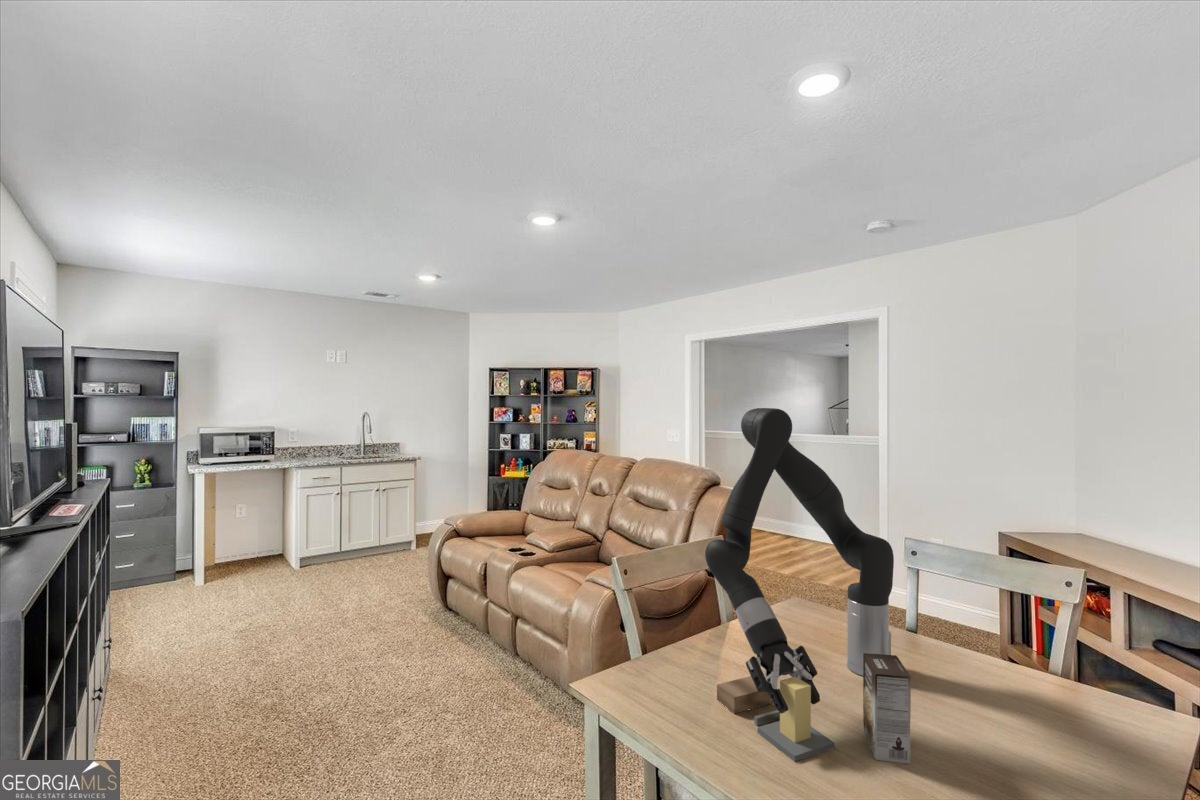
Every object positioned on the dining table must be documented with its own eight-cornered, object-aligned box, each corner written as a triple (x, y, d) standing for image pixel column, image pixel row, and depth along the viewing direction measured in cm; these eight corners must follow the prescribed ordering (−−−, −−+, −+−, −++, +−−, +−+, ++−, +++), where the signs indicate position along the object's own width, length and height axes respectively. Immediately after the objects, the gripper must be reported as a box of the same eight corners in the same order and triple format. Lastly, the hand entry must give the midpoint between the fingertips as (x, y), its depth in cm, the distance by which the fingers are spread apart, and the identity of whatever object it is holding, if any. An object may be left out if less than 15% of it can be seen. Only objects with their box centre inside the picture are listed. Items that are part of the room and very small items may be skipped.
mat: (795, 720, 116) (795, 716, 116) (834, 747, 107) (834, 742, 107) (757, 732, 112) (757, 727, 112) (794, 761, 103) (794, 756, 103)
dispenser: (752, 691, 128) (752, 675, 128) (789, 716, 118) (789, 699, 118) (716, 700, 124) (716, 684, 124) (751, 727, 113) (751, 710, 113)
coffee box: (861, 732, 112) (861, 651, 112) (896, 736, 111) (896, 654, 111) (874, 760, 103) (874, 672, 103) (912, 765, 102) (912, 676, 102)
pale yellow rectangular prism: (795, 726, 112) (795, 676, 112) (810, 737, 108) (810, 685, 108) (779, 731, 110) (780, 680, 110) (795, 742, 107) (795, 689, 107)
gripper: (741, 622, 113) (782, 708, 103) (795, 612, 119) (839, 692, 109) (724, 638, 118) (762, 722, 107) (777, 628, 124) (817, 706, 113)
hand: (800, 707), depth 108 cm, fingers open, 7 cm apart
